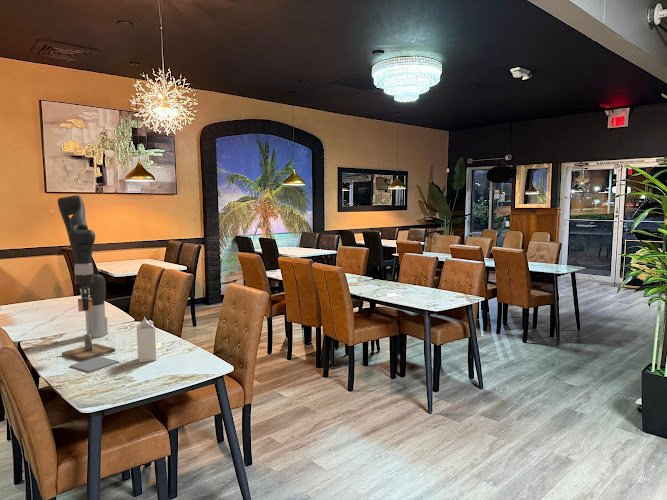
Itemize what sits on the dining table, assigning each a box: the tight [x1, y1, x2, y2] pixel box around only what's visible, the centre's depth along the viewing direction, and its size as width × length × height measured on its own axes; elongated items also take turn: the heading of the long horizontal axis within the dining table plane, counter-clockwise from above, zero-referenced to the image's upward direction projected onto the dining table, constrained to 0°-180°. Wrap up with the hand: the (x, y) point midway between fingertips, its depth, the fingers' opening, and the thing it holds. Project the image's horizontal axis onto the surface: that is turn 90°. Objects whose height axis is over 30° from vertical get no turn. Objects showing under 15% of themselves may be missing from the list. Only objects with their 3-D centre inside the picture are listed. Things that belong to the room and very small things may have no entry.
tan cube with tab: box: [77, 297, 92, 313], centre depth 213 cm, size 6×6×6 cm
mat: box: [69, 356, 120, 373], centre depth 201 cm, size 14×14×1 cm
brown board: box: [61, 333, 116, 362], centre depth 216 cm, size 16×16×9 cm
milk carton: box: [136, 316, 157, 363], centre depth 207 cm, size 7×7×19 cm
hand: (85, 308), depth 213 cm, fingers closed on tan cube with tab, 5 cm apart
